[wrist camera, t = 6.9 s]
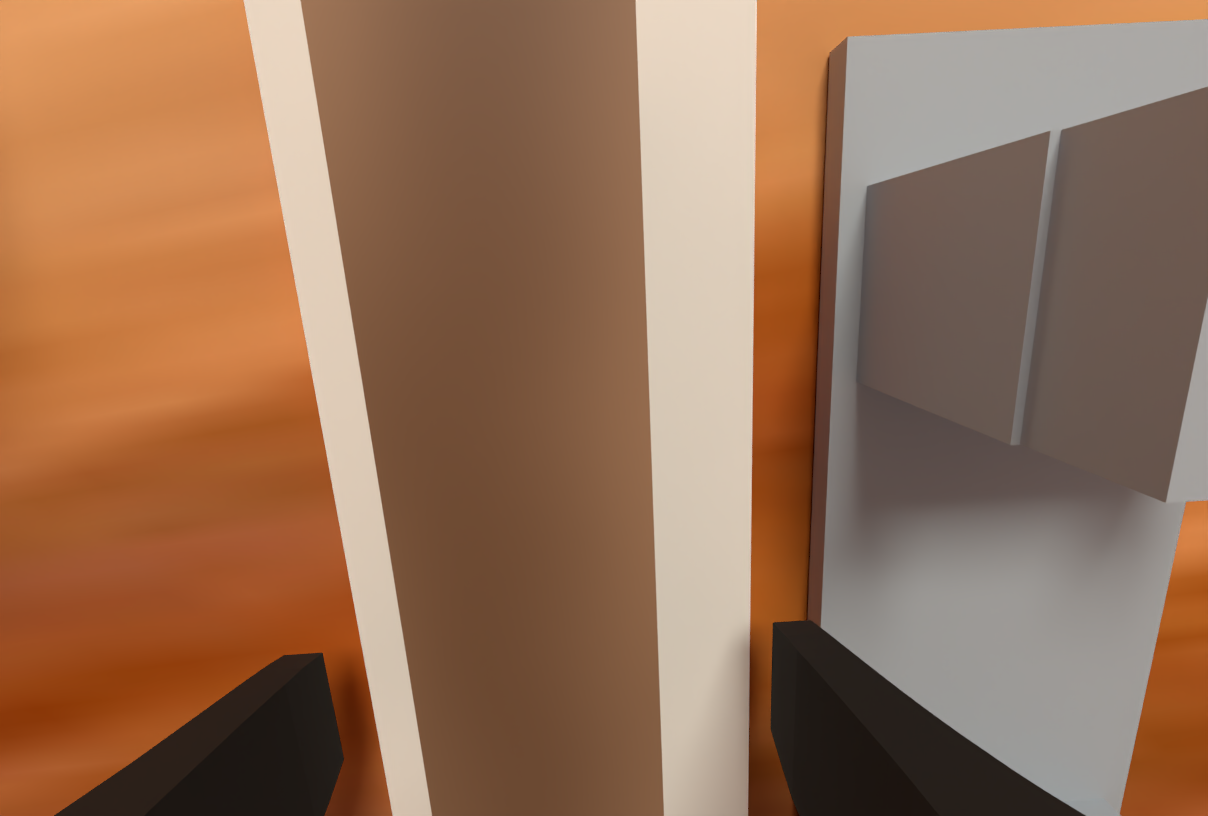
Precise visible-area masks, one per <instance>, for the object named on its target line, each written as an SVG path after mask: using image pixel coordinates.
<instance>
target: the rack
mask: <svg viewBox="0 0 1208 816" xmlns="http://www.w3.org/2000/svg"><path fill="white" fill-rule="evenodd" d="M1204 500H1208V19H1204V20H1184V21H1163V22H1142V23H1122V24H1101V25H1081V26H1060V27H1039V28H1019V29H998V30H977V31H957V32H936V33H915V34H895V35H874V36H853V37H847V38H846V39H845V40H844V41H842V42H841V43H840V44H839V45H838V46H837V47H836V48H835V49H833V50H832V51H831V52H830V58H829V83H828V109H827V134H826V160H825V185H824V211H823V237H822V262H821V288H820V313H819V339H818V364H817V390H816V416H815V441H814V467H813V492H812V518H811V543H810V569H809V595H808V620H811V621H813V622H814V623H815V624H817V625H818V626H819V627H821V628H822V629H823V630H825V631H826V632H827V633H828V634H830V635H831V636H832V637H834V638H835V639H836V640H837V641H839V642H840V643H841V644H842V645H844V646H845V647H846V648H847V649H849V650H850V651H851V652H852V653H854V654H855V655H856V656H858V657H859V658H860V659H861V660H863V661H864V662H865V663H866V664H868V665H869V666H870V667H872V668H873V669H874V670H875V671H877V672H878V673H879V674H880V675H882V676H883V677H884V678H886V679H887V680H888V681H890V682H891V683H892V684H893V685H895V686H896V687H897V688H899V689H900V690H901V691H903V692H904V693H905V694H907V695H908V696H909V697H911V698H912V699H913V700H915V701H916V702H917V703H918V704H920V705H921V706H923V707H924V708H925V709H927V710H928V711H929V712H931V713H932V714H933V715H935V716H936V717H938V718H939V719H940V720H942V721H943V722H944V723H946V724H947V725H949V726H950V727H951V728H953V729H954V730H956V731H957V732H958V733H960V734H961V735H963V736H964V737H966V738H967V739H968V740H970V741H971V742H973V743H974V744H976V745H977V746H979V747H980V748H982V749H983V750H985V751H986V752H987V753H989V754H990V755H992V756H993V757H995V758H996V759H998V760H999V761H1001V762H1002V763H1004V764H1005V765H1006V766H1008V767H1009V768H1011V769H1012V770H1014V771H1015V772H1017V773H1018V774H1020V775H1021V776H1023V777H1025V778H1026V779H1028V780H1029V781H1031V782H1032V783H1034V784H1035V785H1037V786H1039V787H1040V788H1042V789H1043V790H1045V791H1046V792H1048V793H1050V794H1051V795H1053V796H1054V797H1056V798H1058V799H1059V800H1061V801H1063V802H1064V803H1066V804H1068V805H1069V806H1071V807H1073V808H1074V809H1076V810H1077V811H1079V812H1081V813H1082V814H1084V815H1086V816H1120V815H1119V814H1120V809H1121V804H1122V799H1123V795H1124V790H1125V785H1126V781H1127V776H1128V771H1129V767H1130V762H1131V757H1132V753H1133V748H1134V743H1135V738H1136V734H1137V729H1138V724H1139V720H1140V715H1141V710H1142V706H1143V701H1144V696H1145V692H1146V687H1147V682H1148V677H1149V673H1150V668H1151V663H1152V659H1153V654H1154V649H1155V645H1156V640H1157V635H1158V631H1159V626H1160V621H1161V616H1162V612H1163V607H1164V602H1165V598H1166V593H1167V588H1168V584H1169V579H1170V574H1171V570H1172V565H1173V560H1174V556H1175V551H1176V546H1177V541H1178V537H1179V532H1180V527H1181V523H1182V518H1183V513H1184V509H1185V504H1186V502H1188V501H1204Z"/></svg>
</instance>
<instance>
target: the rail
mask: <svg viewBox="0 0 1208 816" xmlns="http://www.w3.org/2000/svg"><path fill="white" fill-rule="evenodd" d="M300 1H301V7H302V13H303V19H304V25H305V32H306V38H307V44H308V50H309V56H310V63H311V69H312V75H313V81H314V87H315V93H316V100H317V106H318V112H319V118H320V124H321V131H322V137H323V143H324V149H325V155H326V162H327V168H328V174H329V180H330V186H331V193H332V199H333V205H334V211H335V217H336V224H337V230H338V236H339V242H340V248H341V255H342V261H343V267H344V273H345V279H346V286H347V292H348V298H349V304H350V310H351V317H352V323H353V329H354V335H355V341H356V348H357V354H358V360H359V366H360V372H361V379H362V385H363V391H364V397H365V403H366V410H367V416H368V422H369V428H370V434H371V441H372V447H373V453H374V459H375V465H376V472H377V478H378V484H379V490H380V496H381V502H382V509H383V515H384V521H385V527H386V533H387V540H388V546H389V552H390V558H391V564H392V571H393V577H394V583H395V589H396V595H397V602H398V608H399V614H400V620H401V626H402V633H403V639H404V645H405V651H406V657H407V664H408V670H409V676H410V682H411V688H412V695H413V701H414V707H415V713H416V719H417V726H418V732H419V738H420V744H421V750H422V757H423V763H424V769H425V775H426V781H427V788H428V794H429V800H430V806H431V812H432V816H664V802H663V773H662V744H661V716H660V687H659V658H658V630H657V601H656V572H655V544H654V515H653V486H652V458H651V429H650V400H649V372H648V343H647V314H646V286H645V257H644V228H643V200H642V171H641V142H640V114H639V85H638V56H637V28H636V0H300Z"/></svg>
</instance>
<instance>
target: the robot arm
mask: <svg viewBox="0 0 1208 816" xmlns="http://www.w3.org/2000/svg"><path fill="white" fill-rule="evenodd" d="M771 732H772V735H773V738H774V742H775V745H776V748H777V752H778V755H779V758H780V762H781V765H782V768H783V771H784V774H785V778H786V781H787V784H788V787H789V790H790V793H791V796H792V799H793V801H794V804H795V806H796V809H797V811H798V813H799V816H1086V815H1084V814H1082V813H1081V812H1079V811H1077V810H1076V809H1074V808H1073V807H1071V806H1069V805H1068V804H1066V803H1064V802H1063V801H1061V800H1059V799H1058V798H1056V797H1054V796H1053V795H1051V794H1050V793H1048V792H1046V791H1045V790H1043V789H1042V788H1040V787H1039V786H1037V785H1035V784H1034V783H1032V782H1031V781H1029V780H1028V779H1026V778H1025V777H1023V776H1021V775H1020V774H1018V773H1017V772H1015V771H1014V770H1012V769H1011V768H1009V767H1008V766H1006V765H1005V764H1004V763H1002V762H1001V761H999V760H998V759H996V758H995V757H993V756H992V755H990V754H989V753H987V752H986V751H985V750H983V749H982V748H980V747H979V746H977V745H976V744H974V743H973V742H971V741H970V740H968V739H967V738H966V737H964V736H963V735H961V734H960V733H958V732H957V731H956V730H954V729H953V728H951V727H950V726H949V725H947V724H946V723H944V722H943V721H942V720H940V719H939V718H938V717H936V716H935V715H933V714H932V713H931V712H929V711H928V710H927V709H925V708H924V707H923V706H921V705H920V704H918V703H917V702H916V701H915V700H913V699H912V698H911V697H909V696H908V695H907V694H905V693H904V692H903V691H901V690H900V689H899V688H897V687H896V686H895V685H893V684H892V683H891V682H890V681H888V680H887V679H886V678H884V677H883V676H882V675H880V674H879V673H878V672H877V671H875V670H874V669H873V668H872V667H870V666H869V665H868V664H866V663H865V662H864V661H863V660H861V659H860V658H859V657H858V656H856V655H855V654H854V653H852V652H851V651H850V650H849V649H847V648H846V647H845V646H844V645H842V644H841V643H840V642H839V641H837V640H836V639H835V638H834V637H832V636H831V635H830V634H828V633H827V632H826V631H825V630H823V629H822V628H821V627H819V626H818V625H817V624H815V623H814V622H813V621H811V620H806V621H791V622H776V623H773V646H772V691H771ZM343 760H344V757H343V752H342V747H341V742H340V737H339V732H338V727H337V722H336V717H335V712H334V707H333V702H332V698H331V693H330V688H329V683H328V678H327V673H326V668H325V663H324V658H323V653H312V654H297V655H284V656H282V657H281V658H279V659H277V660H276V661H274V662H273V663H271V664H269V665H268V666H266V667H265V668H263V669H262V670H260V671H259V672H258V673H256V674H255V675H253V676H252V677H250V678H249V679H248V680H246V681H245V682H243V683H242V684H241V685H239V686H238V687H236V688H235V689H234V690H232V691H231V692H229V693H228V694H227V695H225V696H224V697H222V698H221V699H220V700H218V701H217V702H215V703H214V704H213V705H211V706H210V707H209V708H207V709H206V710H204V711H203V712H202V713H200V714H199V715H198V716H196V717H195V718H193V719H192V720H191V721H189V722H188V723H186V724H185V725H184V726H182V727H181V728H179V729H178V730H177V731H175V732H174V733H173V734H171V735H170V736H168V737H167V738H166V739H164V740H163V741H161V742H160V743H159V744H157V745H156V746H154V747H153V748H152V749H150V750H149V751H147V752H146V753H145V754H143V755H142V756H141V757H139V758H138V759H136V760H135V761H133V762H132V763H131V764H129V765H128V766H126V767H125V768H123V769H122V770H120V771H119V772H117V773H116V774H115V775H113V776H112V777H110V778H109V779H107V780H106V781H104V782H103V783H101V784H100V785H98V786H97V787H95V788H94V789H93V790H91V791H90V792H88V793H87V794H85V795H84V796H82V797H81V798H79V799H78V800H76V801H75V802H73V803H72V804H71V805H69V806H68V807H66V808H65V809H63V810H62V811H60V812H59V813H57V814H56V815H54V816H324V815H325V812H326V809H327V807H328V804H329V801H330V799H331V796H332V793H333V790H334V787H335V784H336V781H337V778H338V775H339V772H340V769H341V766H342V763H343Z"/></svg>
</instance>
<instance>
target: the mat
mask: <svg viewBox="0 0 1208 816" xmlns="http://www.w3.org/2000/svg"><path fill="white" fill-rule="evenodd" d="M244 5H245V10H246V16H247V21H248V27H249V32H250V38H251V43H252V49H253V54H254V60H255V65H256V71H257V76H258V82H259V87H260V92H261V98H262V103H263V109H264V114H265V120H266V125H267V131H268V136H269V142H270V147H271V153H272V158H273V164H274V169H275V175H276V180H277V185H278V191H279V196H280V202H281V207H282V213H283V218H284V224H285V229H286V235H287V240H288V246H289V251H290V257H291V262H292V267H293V273H294V278H295V284H296V289H297V295H298V300H299V306H300V311H301V317H302V322H303V328H304V333H305V339H306V344H307V349H308V355H309V360H310V366H311V371H312V377H313V382H314V388H315V393H316V399H317V404H318V410H319V415H320V421H321V426H322V431H323V437H324V442H325V448H326V453H327V459H328V464H329V470H330V475H331V481H332V486H333V492H334V497H335V503H336V508H337V513H338V519H339V524H340V530H341V535H342V541H343V546H344V552H345V557H346V563H347V568H348V574H349V579H350V585H351V590H352V596H353V601H354V606H355V612H356V617H357V623H358V628H359V634H360V639H361V645H362V650H363V656H364V661H365V667H366V672H367V678H368V683H369V688H370V694H371V699H372V705H373V710H374V716H375V721H376V727H377V732H378V738H379V743H380V749H381V754H382V760H383V765H384V770H385V776H386V781H387V787H388V792H389V798H390V803H391V809H392V814H393V816H432V812H431V806H430V800H429V794H428V788H427V781H426V775H425V769H424V763H423V757H422V750H421V744H420V738H419V732H418V726H417V719H416V713H415V707H414V701H413V695H412V688H411V682H410V676H409V670H408V664H407V657H406V651H405V645H404V639H403V633H402V626H401V620H400V614H399V608H398V602H397V595H396V589H395V583H394V577H393V571H392V564H391V558H390V552H389V546H388V540H387V533H386V527H385V521H384V515H383V509H382V502H381V496H380V490H379V484H378V478H377V472H376V465H375V459H374V453H373V447H372V441H371V434H370V428H369V422H368V416H367V410H366V403H365V397H364V391H363V385H362V379H361V372H360V366H359V360H358V354H357V348H356V341H355V335H354V329H353V323H352V317H351V310H350V304H349V298H348V292H347V286H346V279H345V273H344V267H343V261H342V255H341V248H340V242H339V236H338V230H337V224H336V217H335V211H334V205H333V199H332V193H331V186H330V180H329V174H328V168H327V162H326V155H325V149H324V143H323V137H322V131H321V124H320V118H319V112H318V106H317V100H316V93H315V87H314V81H313V75H312V69H311V63H310V56H309V50H308V44H307V38H306V32H305V25H304V19H303V13H302V7H301V1H300V0H244ZM636 28H637V56H638V85H639V114H640V142H641V171H642V200H643V228H644V257H645V286H646V314H647V343H648V372H649V400H650V429H651V458H652V486H653V515H654V544H655V572H656V601H657V630H658V658H659V687H660V716H661V744H662V773H663V802H664V816H748V770H749V678H750V586H751V494H752V401H753V309H754V217H755V125H756V32H757V0H636Z"/></svg>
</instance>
